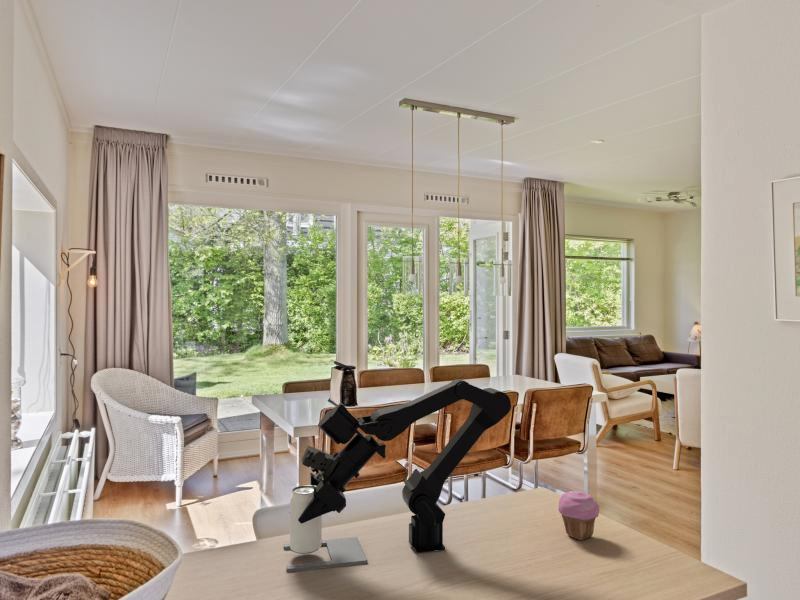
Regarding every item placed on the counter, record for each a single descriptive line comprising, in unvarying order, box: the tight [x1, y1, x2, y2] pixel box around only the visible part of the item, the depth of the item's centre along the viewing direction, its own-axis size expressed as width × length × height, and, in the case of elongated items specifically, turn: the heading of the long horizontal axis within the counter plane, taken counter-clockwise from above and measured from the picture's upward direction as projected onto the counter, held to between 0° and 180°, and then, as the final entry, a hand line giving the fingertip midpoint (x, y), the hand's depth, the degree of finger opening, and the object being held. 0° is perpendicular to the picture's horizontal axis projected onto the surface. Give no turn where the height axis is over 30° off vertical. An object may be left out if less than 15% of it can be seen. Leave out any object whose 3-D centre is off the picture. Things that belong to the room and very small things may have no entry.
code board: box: [283, 536, 369, 573], centre depth 117 cm, size 16×12×1 cm
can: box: [289, 484, 323, 555], centre depth 116 cm, size 6×6×12 cm
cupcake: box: [558, 490, 600, 541], centre depth 127 cm, size 9×9×10 cm
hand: (298, 516), depth 116 cm, fingers closed on can, 6 cm apart
